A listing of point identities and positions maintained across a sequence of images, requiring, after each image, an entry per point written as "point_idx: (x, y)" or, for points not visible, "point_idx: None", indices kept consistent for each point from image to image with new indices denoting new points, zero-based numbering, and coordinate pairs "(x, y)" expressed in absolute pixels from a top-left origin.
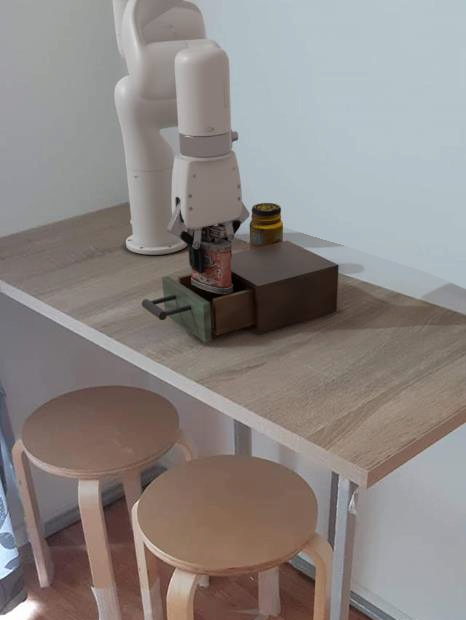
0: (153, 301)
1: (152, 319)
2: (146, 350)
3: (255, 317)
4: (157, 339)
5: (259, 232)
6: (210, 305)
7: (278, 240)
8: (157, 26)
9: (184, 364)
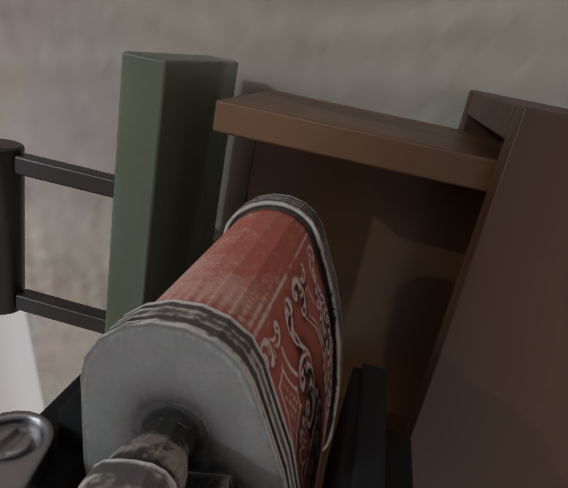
0: (23, 175)
1: (174, 15)
2: (28, 222)
3: None
4: None
5: None
6: (363, 200)
7: None
8: None
9: (74, 372)
